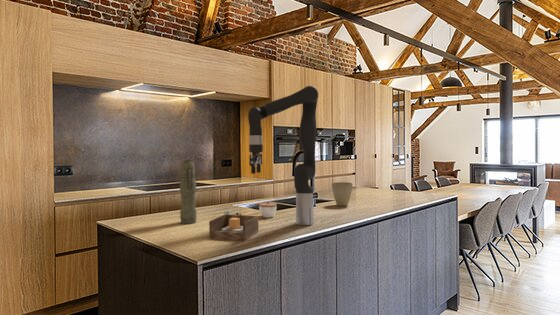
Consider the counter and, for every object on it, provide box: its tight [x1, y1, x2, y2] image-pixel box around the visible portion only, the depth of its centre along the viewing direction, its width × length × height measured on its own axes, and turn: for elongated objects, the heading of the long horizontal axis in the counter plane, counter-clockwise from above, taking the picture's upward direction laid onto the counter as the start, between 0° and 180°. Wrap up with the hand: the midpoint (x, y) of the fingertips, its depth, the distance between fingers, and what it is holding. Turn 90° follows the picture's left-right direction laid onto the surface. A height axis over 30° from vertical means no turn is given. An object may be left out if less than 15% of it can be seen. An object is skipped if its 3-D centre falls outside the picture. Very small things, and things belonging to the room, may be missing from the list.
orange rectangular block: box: [229, 218, 240, 229], centre depth 184 cm, size 4×4×8 cm
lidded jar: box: [258, 201, 278, 219], centre depth 229 cm, size 11×11×9 cm
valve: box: [223, 209, 242, 215], centre depth 211 cm, size 7×7×12 cm
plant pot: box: [331, 181, 354, 207], centre depth 270 cm, size 15×15×16 cm
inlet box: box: [208, 214, 259, 242], centre depth 184 cm, size 18×18×8 cm
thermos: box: [179, 160, 198, 225], centre depth 213 cm, size 9×12×35 cm
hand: (256, 173), depth 209 cm, fingers open, 8 cm apart
